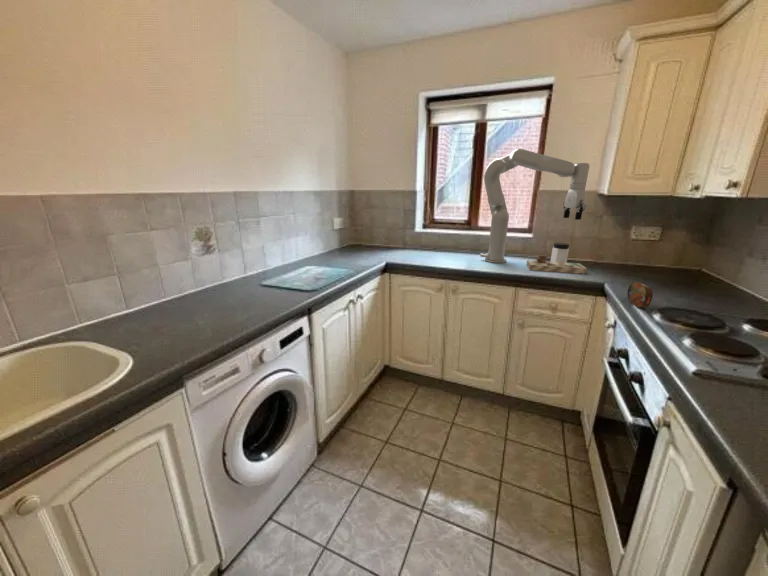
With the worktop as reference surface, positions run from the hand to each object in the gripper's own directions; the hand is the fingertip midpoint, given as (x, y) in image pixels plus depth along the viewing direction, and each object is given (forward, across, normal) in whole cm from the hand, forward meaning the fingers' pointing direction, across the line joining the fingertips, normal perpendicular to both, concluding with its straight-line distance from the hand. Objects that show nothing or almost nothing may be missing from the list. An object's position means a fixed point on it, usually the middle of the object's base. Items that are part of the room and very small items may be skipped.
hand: (571, 218), depth 186 cm
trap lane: (+28, +7, -11) cm, 30 cm away
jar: (+28, -7, +2) cm, 29 cm away
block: (+25, +2, -16) cm, 29 cm away
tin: (+28, +66, -15) cm, 73 cm away
